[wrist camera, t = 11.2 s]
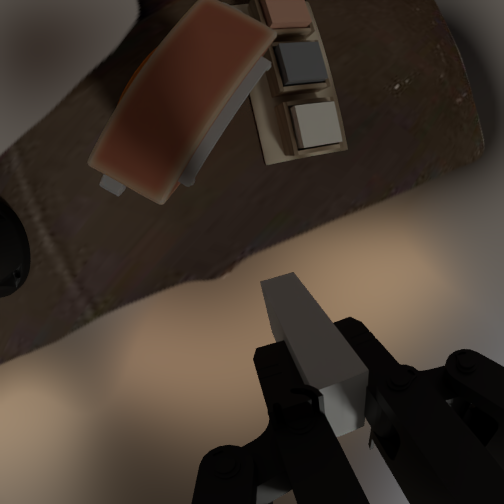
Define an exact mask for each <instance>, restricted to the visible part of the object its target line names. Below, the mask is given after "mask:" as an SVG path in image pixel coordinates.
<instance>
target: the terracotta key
mask: <svg viewBox="0 0 504 504" xmlns="http://www.w3.org/2000/svg"><path fill="white" fill-rule="evenodd" d="M259 3H260V6H261V9H262V13H263V16H264V19H265V22H266V26H268V27H270V28H271V29H290V28H306V27H307V26H308V25H309V24H310V23H311V22H312V20H311V17H310V14H309V12H308V9H307V6H306V3H305V0H259Z"/></svg>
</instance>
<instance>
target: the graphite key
mask: <svg viewBox="0 0 504 504" xmlns="http://www.w3.org/2000/svg"><path fill="white" fill-rule="evenodd" d="M274 54H275V57H276V61H277V65H278V68H279V72H280V76H281V80H282V84H283V87H287V86H295V85H305V84H316V83H320V82H322V81H324V80H326V79H327V78H328V74H327V70H326V67H325V63H324V59H323V56H322V53H321V49H320V46H319V42H294V43H279V44H278V45H277V46H276V48H275V49H274Z"/></svg>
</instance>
